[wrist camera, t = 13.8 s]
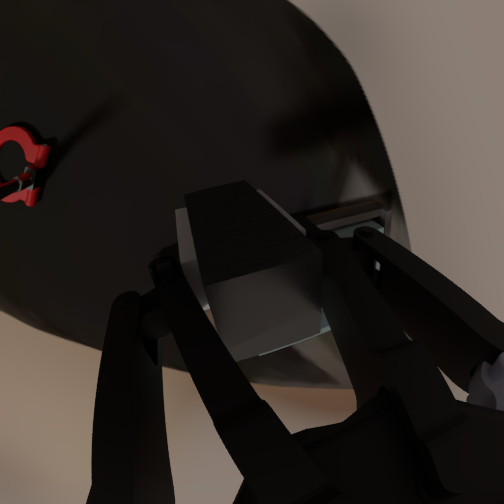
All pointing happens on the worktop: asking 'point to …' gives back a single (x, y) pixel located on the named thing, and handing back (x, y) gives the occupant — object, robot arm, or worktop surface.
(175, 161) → the worktop surface
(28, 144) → the tow hook
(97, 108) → the worktop surface
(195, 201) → the dark grey block
